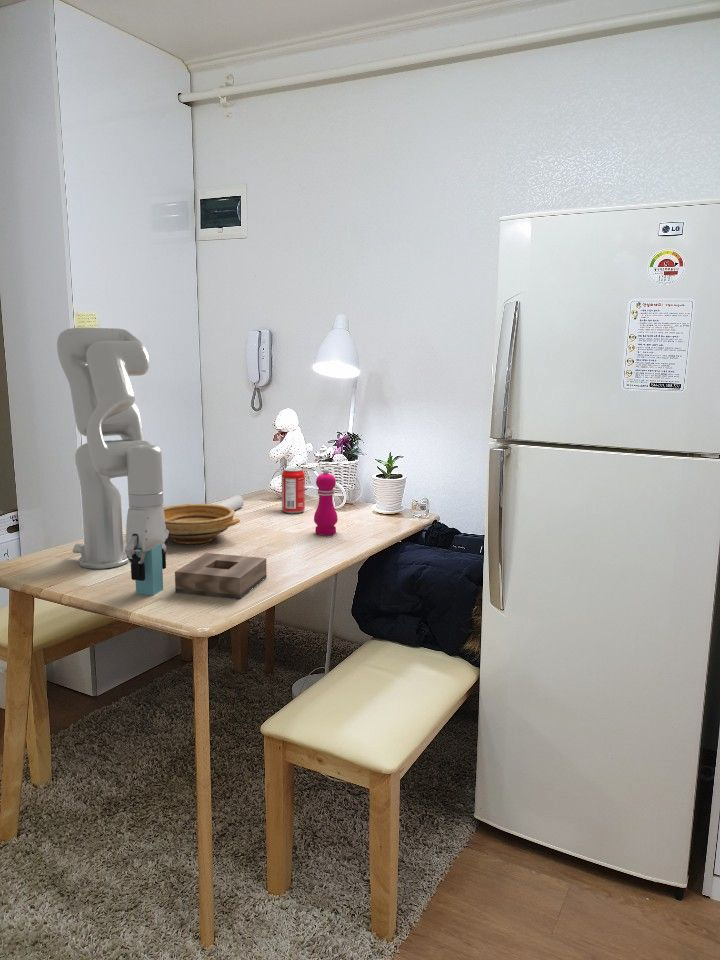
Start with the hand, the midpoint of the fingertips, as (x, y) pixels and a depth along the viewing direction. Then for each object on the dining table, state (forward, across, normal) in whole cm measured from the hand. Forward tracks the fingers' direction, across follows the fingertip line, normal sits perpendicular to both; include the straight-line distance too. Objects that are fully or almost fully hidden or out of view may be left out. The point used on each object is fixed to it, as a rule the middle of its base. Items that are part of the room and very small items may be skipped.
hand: (149, 573), depth 167 cm
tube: (+4, -77, -17) cm, 79 cm away
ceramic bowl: (+4, -45, -12) cm, 47 cm away
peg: (+4, 0, 0) cm, 4 cm away
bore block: (+4, -9, +14) cm, 17 cm away
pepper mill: (+4, -63, +23) cm, 67 cm away
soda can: (+4, -87, +4) cm, 87 cm away
